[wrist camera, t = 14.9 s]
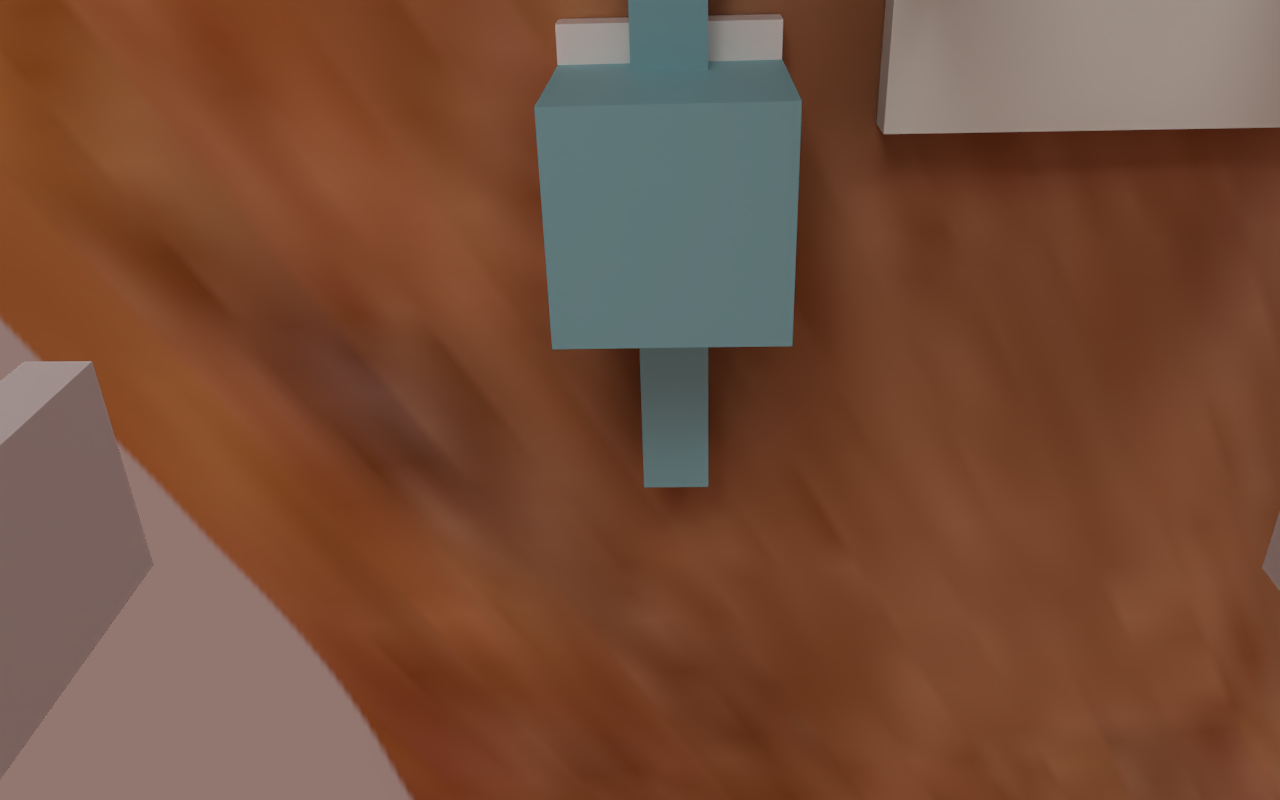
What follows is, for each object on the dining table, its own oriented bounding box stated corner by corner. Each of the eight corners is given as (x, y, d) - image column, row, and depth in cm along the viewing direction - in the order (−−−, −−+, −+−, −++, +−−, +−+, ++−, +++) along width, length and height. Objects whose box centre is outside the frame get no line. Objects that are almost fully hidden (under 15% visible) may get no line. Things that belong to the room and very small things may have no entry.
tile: (558, 18, 29) (555, 24, 28) (780, 14, 29) (783, 19, 28) (574, 293, 33) (571, 305, 32) (771, 291, 33) (773, 303, 32)
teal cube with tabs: (583, 468, 34) (568, 564, 30) (540, -219, 26) (509, -233, 21) (770, 466, 34) (783, 563, 30) (791, -228, 25) (815, -244, 21)
